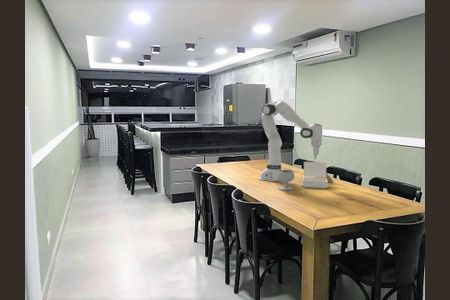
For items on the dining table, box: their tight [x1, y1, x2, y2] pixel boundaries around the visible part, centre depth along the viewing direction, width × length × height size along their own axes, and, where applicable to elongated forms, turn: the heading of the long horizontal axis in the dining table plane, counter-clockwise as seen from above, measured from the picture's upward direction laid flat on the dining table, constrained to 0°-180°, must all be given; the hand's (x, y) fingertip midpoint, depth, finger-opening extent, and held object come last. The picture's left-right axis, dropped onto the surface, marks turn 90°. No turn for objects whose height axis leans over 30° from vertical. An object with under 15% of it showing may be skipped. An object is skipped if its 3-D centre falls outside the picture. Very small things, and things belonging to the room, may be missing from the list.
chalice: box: [277, 169, 295, 191], centre depth 269 cm, size 14×14×15 cm
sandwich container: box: [314, 172, 333, 182], centre depth 303 cm, size 9×15×15 cm, turn 111°
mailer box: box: [302, 176, 329, 190], centre depth 280 cm, size 20×14×6 cm
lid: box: [303, 161, 327, 178], centre depth 288 cm, size 19×13×1 cm
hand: (315, 158), depth 281 cm, fingers closed
